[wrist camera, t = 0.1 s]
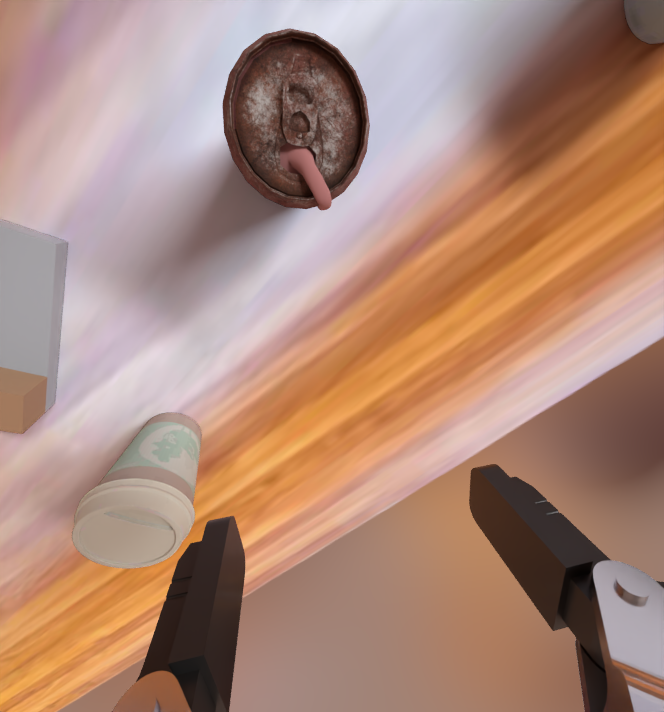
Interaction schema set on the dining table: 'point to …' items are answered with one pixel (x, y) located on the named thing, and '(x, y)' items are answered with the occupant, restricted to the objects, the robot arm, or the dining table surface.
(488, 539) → the robot arm
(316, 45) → the can
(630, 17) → the grey tapered cup
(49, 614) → the dining table surface
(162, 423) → the coffee cup
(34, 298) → the door plate
